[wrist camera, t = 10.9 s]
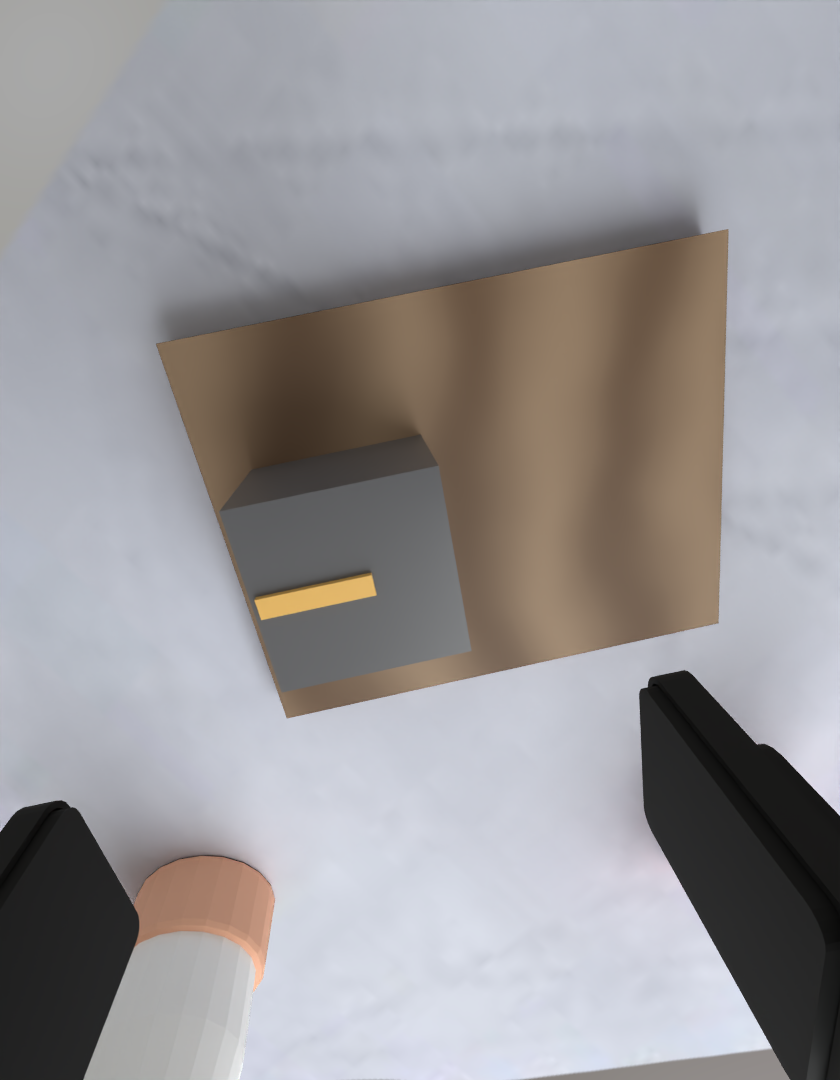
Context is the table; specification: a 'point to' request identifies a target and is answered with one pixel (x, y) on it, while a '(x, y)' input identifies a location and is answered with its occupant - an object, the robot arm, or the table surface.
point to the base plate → (506, 441)
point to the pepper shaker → (189, 975)
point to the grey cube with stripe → (349, 562)
